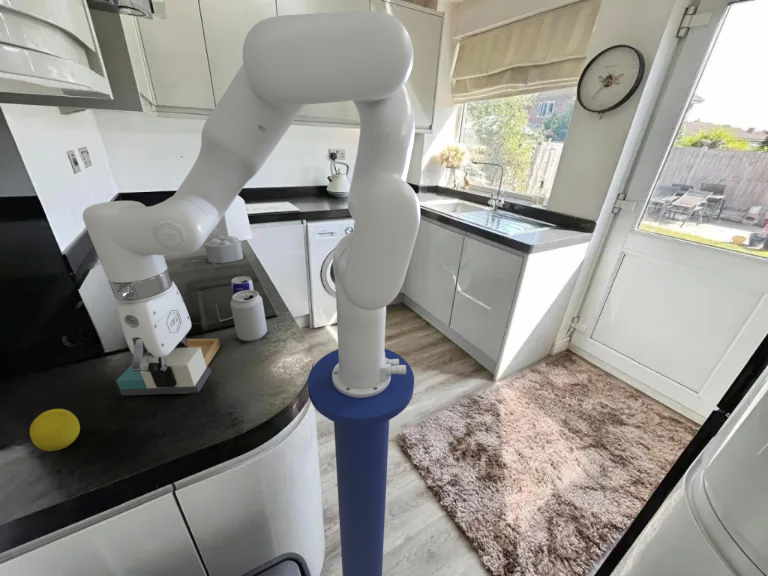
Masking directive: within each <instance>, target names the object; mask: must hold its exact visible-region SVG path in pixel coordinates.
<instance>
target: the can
mask: <svg viewBox="0 0 768 576" xmlns="http://www.w3.org/2000/svg"><path fill="white" fill-rule="evenodd" d="M263 301H264V300H263V298H262V296H261V295H260V293H259V292H258V291H257V290H244V291H240V292H237V293H235V294H234V295H233V294H232V296H231V301H230V302H229V304H230V309H231V313H232V318H233V323H234V328H235V333H236V337H237V338H238V339H239V340H242V341H244V342H254V341H257V340H260V339H261V338H263V337H264V336H265V335H266V334H267V332H268V329H267V328H268V327H267V321H266V314H265V308H264V302H263Z"/></svg>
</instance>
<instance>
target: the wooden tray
mask: <svg viewBox="0 0 768 576" xmlns="http://www.w3.org/2000/svg"><path fill="white" fill-rule="evenodd" d="M187 339H188V344H187V345H186V346H188V348H190V347H201V351H202V354H203V357H204V360H205V364H206V367H209V364H210V362H211V361H212V360H213V358H214V357H215V355H216V354H217V352H218V351H219V349H220V348H221V344H220V339H219V338H187ZM174 394H179V395H180V394H182V395H183V393H171V394H170V395H174Z"/></svg>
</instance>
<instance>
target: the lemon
mask: <svg viewBox="0 0 768 576" xmlns="http://www.w3.org/2000/svg"><path fill="white" fill-rule="evenodd" d="M80 430H81V425H80V421H79V419H78V418H77V416H76V415H75V414H73V412H71V411H70V410H69V409H64V408H53V409H52V408H51V409H49V410H46V411H43V412H42V413H40V414H39V415H37V417H36V418H34V420H33V421H32V422H31V424H30V428H29V436H30V439H31V441H32V444H33V445H34V446H35V447H36V448H38V449H40V450H41V451H44V452H45V451H46V452H56V451H60V450H63V449H66V448H68V447H69V446H70V445H72V444H73V443H74V442H75V441H76V439H77V438H78V436H79V434H80Z"/></svg>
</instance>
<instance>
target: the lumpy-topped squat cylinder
mask: <svg viewBox="0 0 768 576" xmlns="http://www.w3.org/2000/svg"><path fill="white" fill-rule="evenodd" d="M204 249H205V254H206V258H207V261H208V262H209V263H211V264H225V263H232V262H237V261H240V260H243V259H244V254H243V247H242V242H241V241H239V240H238V238H236V237H233V236H228V237H224V236H218V235H217V237H213V238H210V239H209V241H207V242H206V241H205V242H204Z"/></svg>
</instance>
